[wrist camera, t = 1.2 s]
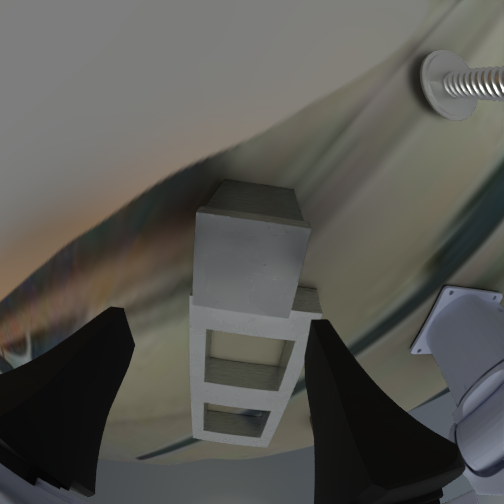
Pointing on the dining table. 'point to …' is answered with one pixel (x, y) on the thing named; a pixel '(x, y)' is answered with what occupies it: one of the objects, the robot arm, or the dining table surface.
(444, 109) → the screw
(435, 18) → the dining table surface
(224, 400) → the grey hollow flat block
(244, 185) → the grey rectangular block
